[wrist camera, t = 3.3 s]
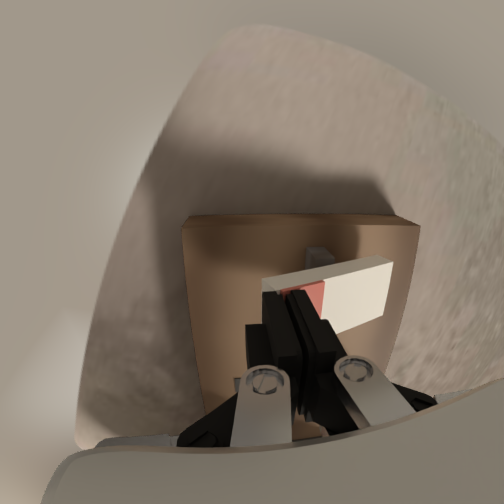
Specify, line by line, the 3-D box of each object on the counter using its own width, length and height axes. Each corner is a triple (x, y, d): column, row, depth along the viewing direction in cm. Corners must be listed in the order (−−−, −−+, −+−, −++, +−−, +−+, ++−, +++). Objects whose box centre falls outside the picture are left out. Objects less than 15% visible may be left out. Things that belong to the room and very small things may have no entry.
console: (396, 215, 18) (437, 233, 13) (343, 430, 26) (355, 463, 21) (189, 216, 17) (174, 237, 12) (217, 443, 25) (217, 479, 20)
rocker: (377, 254, 14) (396, 262, 13) (368, 306, 15) (385, 316, 14) (261, 278, 12) (278, 292, 10) (261, 341, 13) (274, 358, 11)
